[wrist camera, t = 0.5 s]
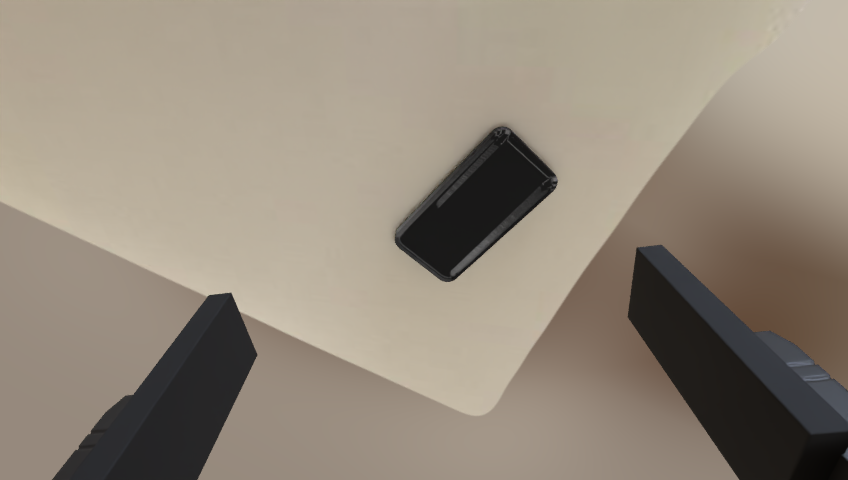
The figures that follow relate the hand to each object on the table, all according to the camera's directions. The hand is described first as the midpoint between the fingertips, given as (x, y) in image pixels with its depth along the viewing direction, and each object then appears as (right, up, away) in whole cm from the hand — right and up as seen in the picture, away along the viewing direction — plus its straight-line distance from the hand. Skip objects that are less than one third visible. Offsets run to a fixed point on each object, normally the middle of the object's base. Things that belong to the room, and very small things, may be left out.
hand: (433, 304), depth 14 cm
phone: (+4, +5, +26) cm, 27 cm away
